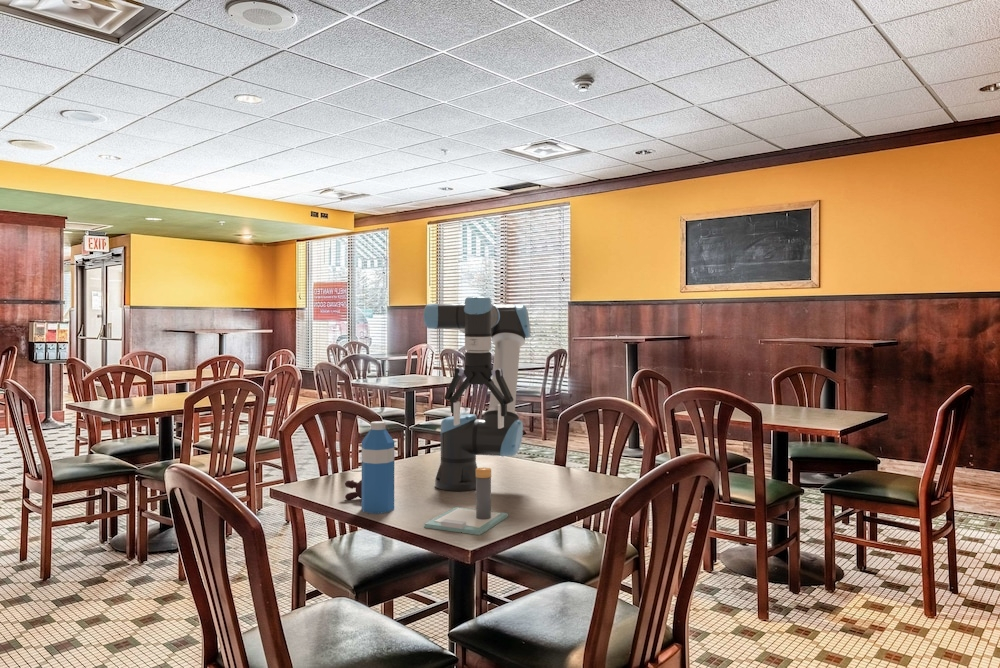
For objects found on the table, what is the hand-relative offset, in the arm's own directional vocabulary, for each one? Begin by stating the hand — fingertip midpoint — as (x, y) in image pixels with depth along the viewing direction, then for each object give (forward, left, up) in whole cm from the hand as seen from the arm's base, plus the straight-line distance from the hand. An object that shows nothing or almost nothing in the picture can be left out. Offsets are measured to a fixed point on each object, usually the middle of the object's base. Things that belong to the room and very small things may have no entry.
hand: (478, 426), depth 192 cm
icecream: (+1, -36, -25) cm, 44 cm away
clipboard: (+11, +2, -24) cm, 27 cm away
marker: (+9, +6, -23) cm, 25 cm away
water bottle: (+10, -27, -24) cm, 38 cm away
